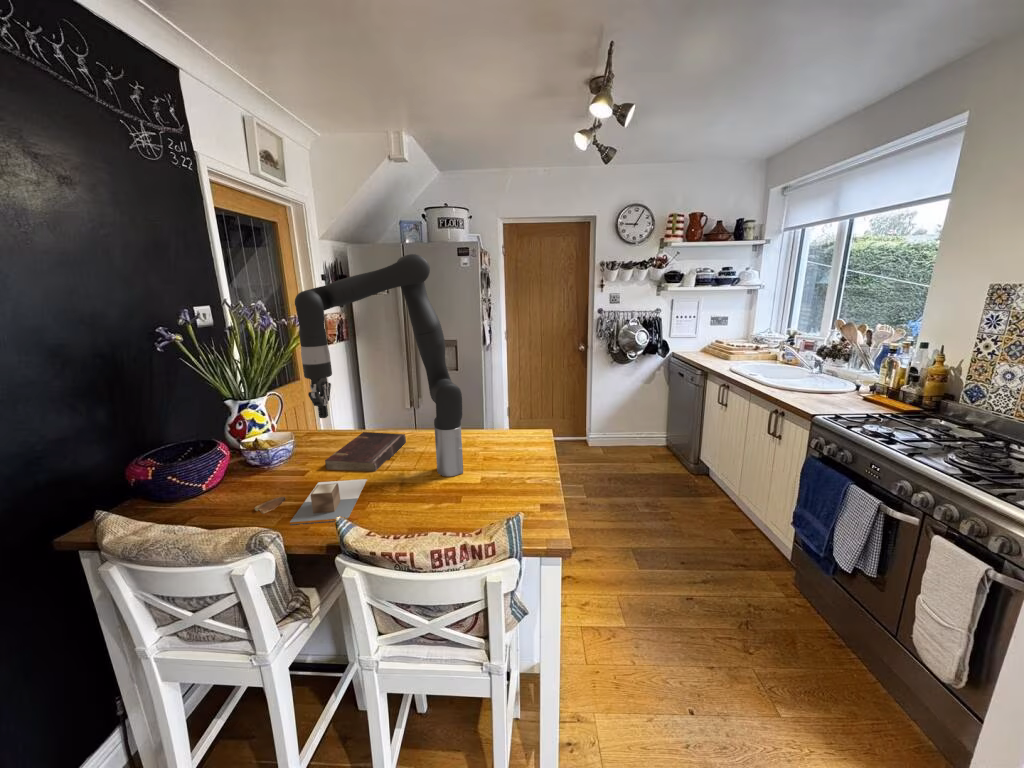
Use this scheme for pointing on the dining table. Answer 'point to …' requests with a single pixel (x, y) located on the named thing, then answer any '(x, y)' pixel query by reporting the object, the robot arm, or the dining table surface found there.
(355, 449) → the hardback book
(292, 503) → the dining table surface
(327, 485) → the walnut cube
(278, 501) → the shard
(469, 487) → the dining table surface
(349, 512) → the board
